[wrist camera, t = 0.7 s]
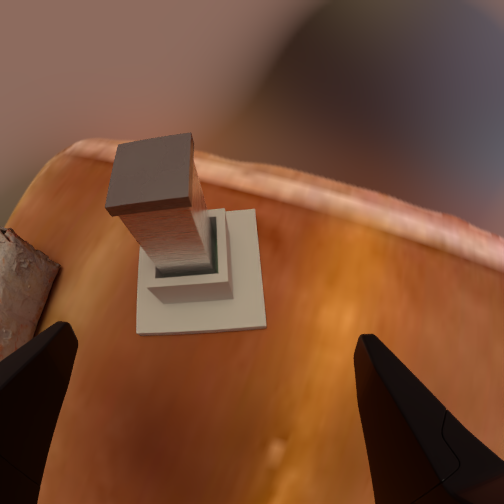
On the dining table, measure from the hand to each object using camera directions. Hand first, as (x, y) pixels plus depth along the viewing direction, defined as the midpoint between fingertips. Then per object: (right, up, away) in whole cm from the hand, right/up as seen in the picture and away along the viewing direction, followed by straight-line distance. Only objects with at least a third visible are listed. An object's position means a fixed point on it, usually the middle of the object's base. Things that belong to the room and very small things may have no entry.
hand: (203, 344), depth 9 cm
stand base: (-3, +1, +17) cm, 18 cm away
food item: (-21, -4, +16) cm, 27 cm away
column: (-3, +1, +16) cm, 17 cm away
